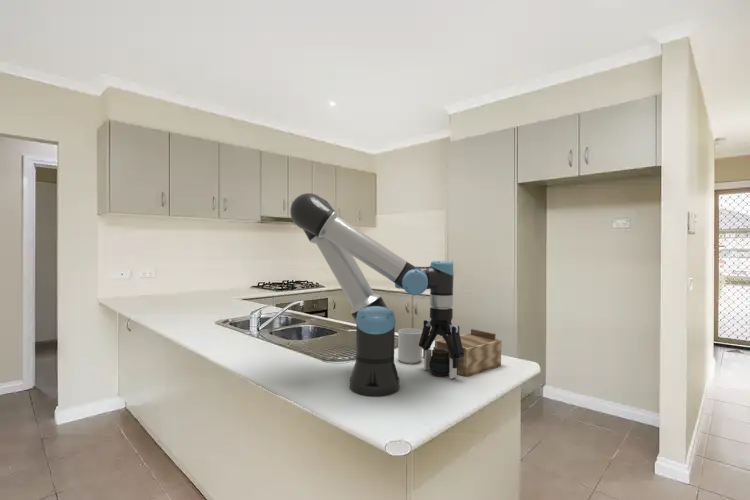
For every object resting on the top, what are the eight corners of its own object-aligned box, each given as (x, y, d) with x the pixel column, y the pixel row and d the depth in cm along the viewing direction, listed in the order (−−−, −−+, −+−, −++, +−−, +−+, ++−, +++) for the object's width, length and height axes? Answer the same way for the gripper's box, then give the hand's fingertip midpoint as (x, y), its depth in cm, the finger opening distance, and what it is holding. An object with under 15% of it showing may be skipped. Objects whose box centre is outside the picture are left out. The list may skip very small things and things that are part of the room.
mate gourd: (454, 373, 134) (454, 343, 134) (445, 379, 128) (446, 349, 127) (434, 369, 138) (435, 340, 138) (425, 375, 132) (425, 345, 131)
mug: (410, 366, 141) (411, 334, 141) (392, 360, 148) (393, 330, 147) (432, 359, 149) (432, 330, 149) (414, 354, 156) (414, 326, 156)
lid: (464, 351, 131) (464, 342, 131) (436, 344, 140) (437, 335, 140) (499, 343, 144) (499, 334, 144) (471, 336, 153) (472, 328, 153)
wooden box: (466, 376, 131) (466, 349, 130) (434, 366, 141) (434, 340, 141) (501, 365, 143) (501, 340, 143) (469, 356, 154) (469, 333, 154)
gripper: (476, 311, 126) (475, 380, 126) (424, 301, 144) (422, 362, 144) (461, 313, 121) (460, 385, 122) (409, 303, 139) (408, 366, 139)
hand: (439, 373), depth 133 cm, fingers open, 10 cm apart
